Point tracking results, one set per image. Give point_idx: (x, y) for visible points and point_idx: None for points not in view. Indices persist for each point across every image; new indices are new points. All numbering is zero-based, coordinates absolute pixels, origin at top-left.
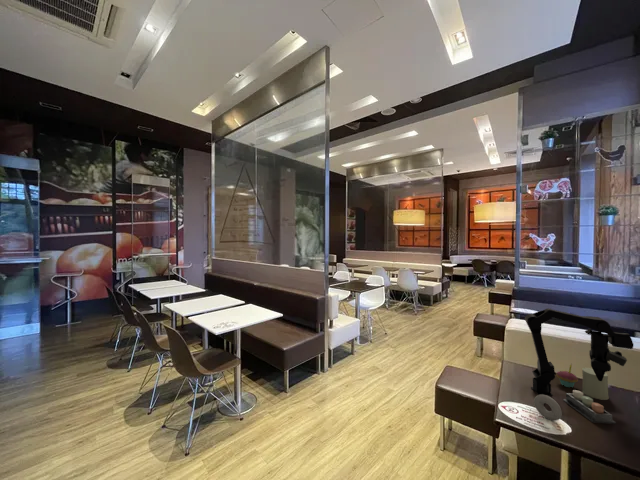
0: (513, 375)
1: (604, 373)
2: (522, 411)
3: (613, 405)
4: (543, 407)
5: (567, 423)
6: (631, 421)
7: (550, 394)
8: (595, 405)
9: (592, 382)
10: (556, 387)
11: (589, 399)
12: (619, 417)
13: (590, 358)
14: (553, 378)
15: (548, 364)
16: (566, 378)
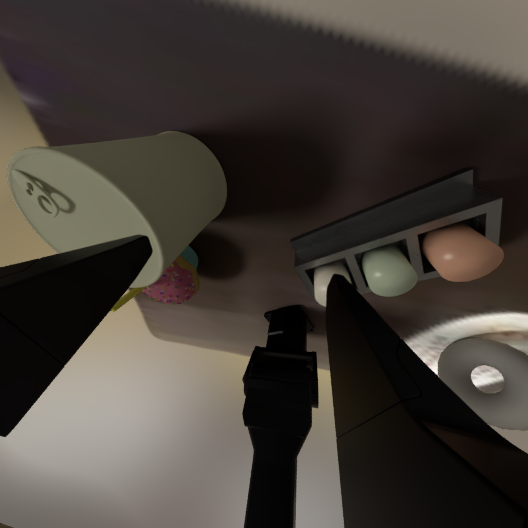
0: (228, 344)
1: (448, 388)
2: (430, 368)
3: (251, 127)
4: (469, 374)
5: (485, 313)
6: (416, 70)
7: (301, 311)
8: (477, 273)
9: (193, 230)
10: (227, 284)
11: (405, 278)
12: (385, 131)
13: (22, 415)
14: (306, 366)
15: (301, 446)
16: (193, 287)
